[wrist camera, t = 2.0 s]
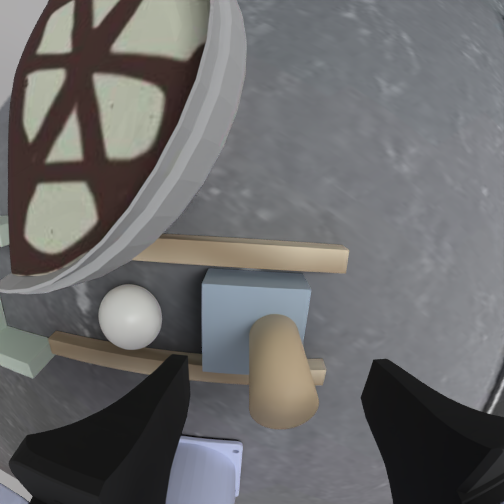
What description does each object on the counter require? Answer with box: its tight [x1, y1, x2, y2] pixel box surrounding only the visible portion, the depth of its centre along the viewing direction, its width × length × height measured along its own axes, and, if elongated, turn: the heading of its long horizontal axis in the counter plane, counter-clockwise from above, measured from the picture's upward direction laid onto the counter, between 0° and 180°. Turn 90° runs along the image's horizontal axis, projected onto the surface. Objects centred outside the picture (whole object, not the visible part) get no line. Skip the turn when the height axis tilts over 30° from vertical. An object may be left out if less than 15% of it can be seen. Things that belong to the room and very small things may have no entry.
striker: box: [202, 268, 319, 429], centre depth 13 cm, size 5×5×8 cm
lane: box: [48, 234, 349, 385], centre depth 16 cm, size 8×18×1 cm, turn 86°
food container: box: [0, 0, 247, 294], centre depth 9 cm, size 12×6×10 cm, turn 173°
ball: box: [99, 284, 162, 350], centre depth 14 cm, size 4×4×4 cm
